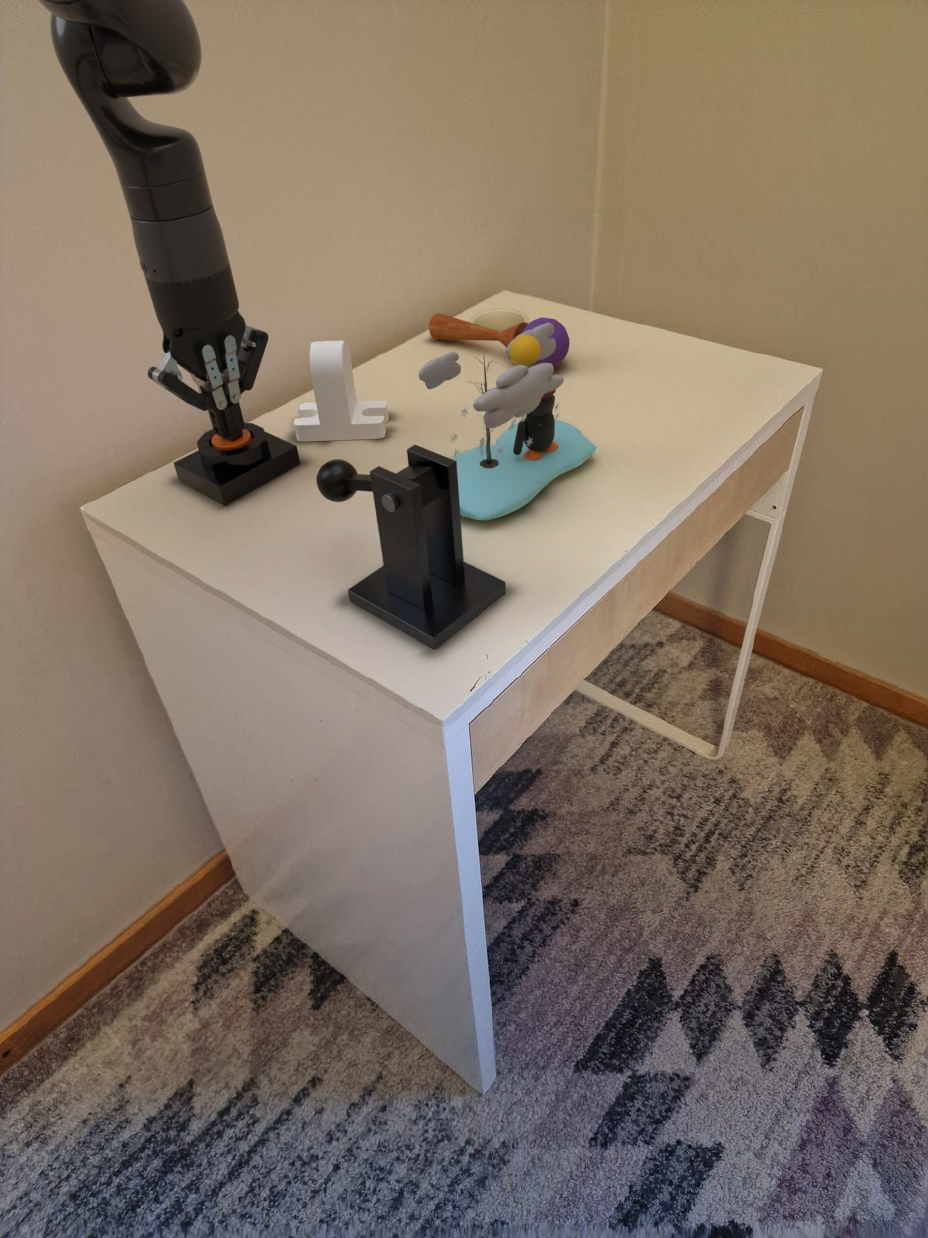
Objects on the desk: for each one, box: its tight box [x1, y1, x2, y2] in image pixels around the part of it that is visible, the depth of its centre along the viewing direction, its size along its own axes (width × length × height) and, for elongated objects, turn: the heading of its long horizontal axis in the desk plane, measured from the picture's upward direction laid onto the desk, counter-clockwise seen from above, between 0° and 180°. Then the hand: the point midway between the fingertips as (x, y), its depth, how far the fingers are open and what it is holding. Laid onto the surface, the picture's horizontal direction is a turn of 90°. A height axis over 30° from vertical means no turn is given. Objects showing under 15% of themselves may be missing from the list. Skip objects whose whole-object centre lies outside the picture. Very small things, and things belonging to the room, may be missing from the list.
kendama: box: [428, 312, 570, 368], centre depth 107 cm, size 6×6×20 cm
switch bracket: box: [347, 444, 507, 650], centre depth 69 cm, size 10×9×13 cm
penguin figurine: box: [418, 323, 597, 521], centre depth 81 cm, size 20×11×15 cm, turn 135°
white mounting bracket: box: [293, 339, 390, 442], centre depth 93 cm, size 5×10×10 cm, turn 88°
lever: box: [315, 458, 441, 507], centre depth 69 cm, size 13×4×4 cm, turn 49°
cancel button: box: [211, 429, 252, 450], centre depth 88 cm, size 4×4×2 cm
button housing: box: [172, 422, 301, 507], centre depth 89 cm, size 10×8×4 cm
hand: (231, 436), depth 87 cm, fingers closed
